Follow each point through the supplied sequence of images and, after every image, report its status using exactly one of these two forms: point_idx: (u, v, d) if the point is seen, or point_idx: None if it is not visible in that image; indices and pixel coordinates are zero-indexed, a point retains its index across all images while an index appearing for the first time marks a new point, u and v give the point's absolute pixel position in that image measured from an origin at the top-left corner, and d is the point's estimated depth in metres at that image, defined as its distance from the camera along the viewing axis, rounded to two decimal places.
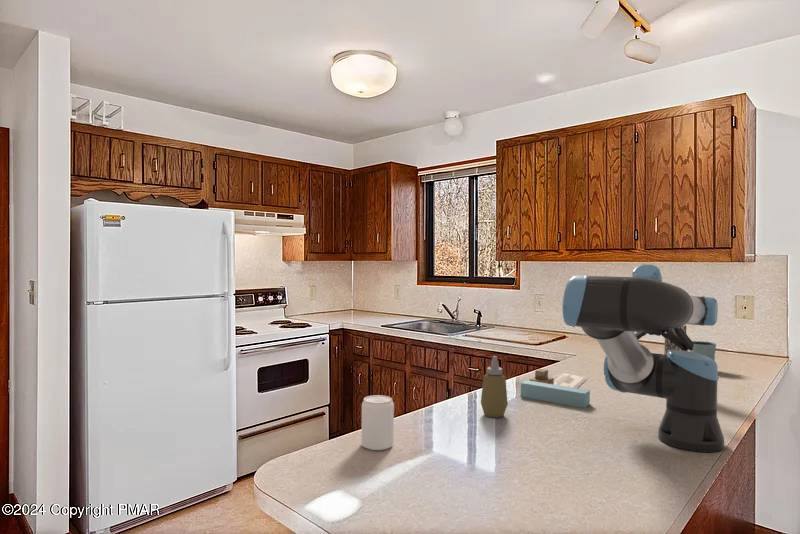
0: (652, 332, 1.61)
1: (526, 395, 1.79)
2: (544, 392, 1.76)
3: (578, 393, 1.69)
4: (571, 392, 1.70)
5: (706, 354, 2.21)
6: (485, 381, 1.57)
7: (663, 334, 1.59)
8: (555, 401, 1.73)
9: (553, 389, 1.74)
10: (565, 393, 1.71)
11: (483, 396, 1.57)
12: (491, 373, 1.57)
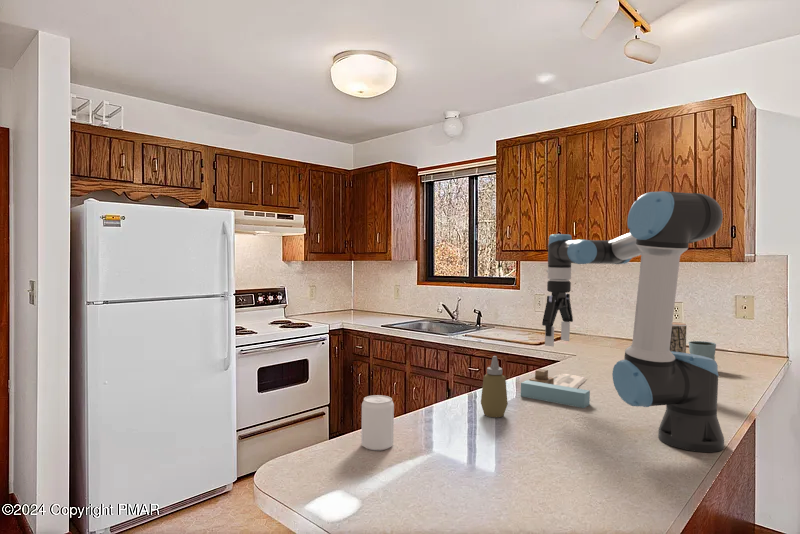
0: (561, 304, 1.74)
1: (526, 395, 1.79)
2: (544, 392, 1.76)
3: (578, 393, 1.69)
4: (571, 392, 1.70)
5: (706, 354, 2.21)
6: (485, 381, 1.57)
7: (566, 303, 1.76)
8: (555, 401, 1.73)
9: (553, 389, 1.74)
10: (565, 393, 1.71)
11: (483, 396, 1.57)
12: (491, 373, 1.57)
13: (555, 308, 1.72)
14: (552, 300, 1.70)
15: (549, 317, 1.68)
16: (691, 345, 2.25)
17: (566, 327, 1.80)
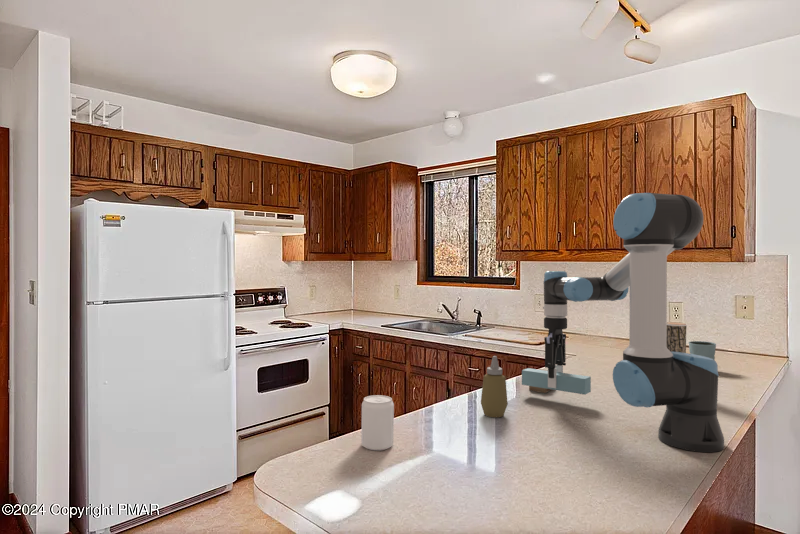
0: None
1: (527, 382, 1.79)
2: (544, 379, 1.75)
3: (578, 379, 1.68)
4: (571, 378, 1.69)
5: (706, 354, 2.21)
6: (485, 381, 1.57)
7: (562, 341, 1.76)
8: None
9: None
10: (566, 379, 1.70)
11: (483, 396, 1.57)
12: (491, 373, 1.57)
13: (554, 348, 1.73)
14: (550, 342, 1.70)
15: (550, 360, 1.70)
16: (691, 345, 2.25)
17: (559, 371, 1.77)
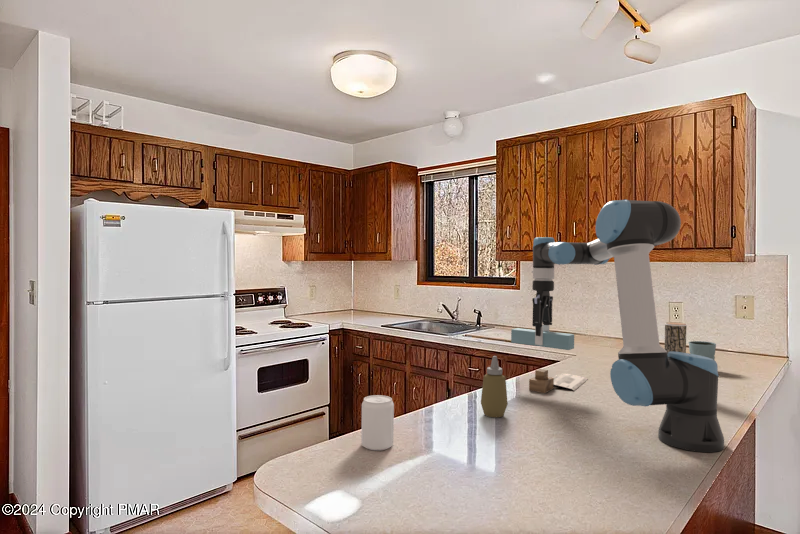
0: None
1: (516, 340, 1.94)
2: (532, 337, 1.90)
3: (563, 336, 1.82)
4: (556, 335, 1.84)
5: (706, 354, 2.21)
6: (485, 381, 1.57)
7: (549, 302, 1.90)
8: None
9: None
10: (551, 337, 1.85)
11: (483, 396, 1.57)
12: (491, 373, 1.57)
13: (541, 308, 1.87)
14: (537, 302, 1.84)
15: (538, 319, 1.84)
16: (691, 345, 2.25)
17: (546, 330, 1.91)
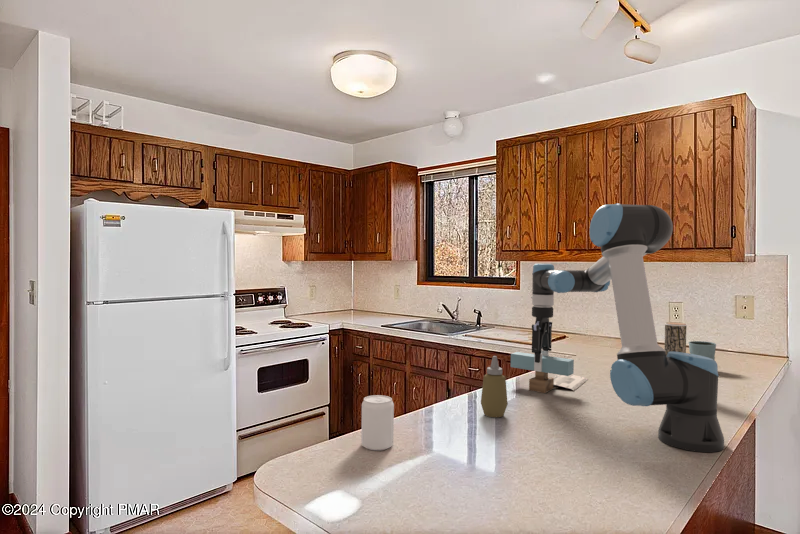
0: (544, 328, 1.89)
1: (516, 365, 1.94)
2: (531, 361, 1.90)
3: (562, 361, 1.83)
4: (556, 361, 1.84)
5: (706, 354, 2.21)
6: (485, 381, 1.57)
7: (548, 329, 1.90)
8: (542, 369, 1.87)
9: None
10: (551, 362, 1.85)
11: (483, 396, 1.57)
12: (491, 373, 1.57)
13: (540, 335, 1.87)
14: (537, 329, 1.84)
15: (537, 346, 1.85)
16: (691, 345, 2.25)
17: None
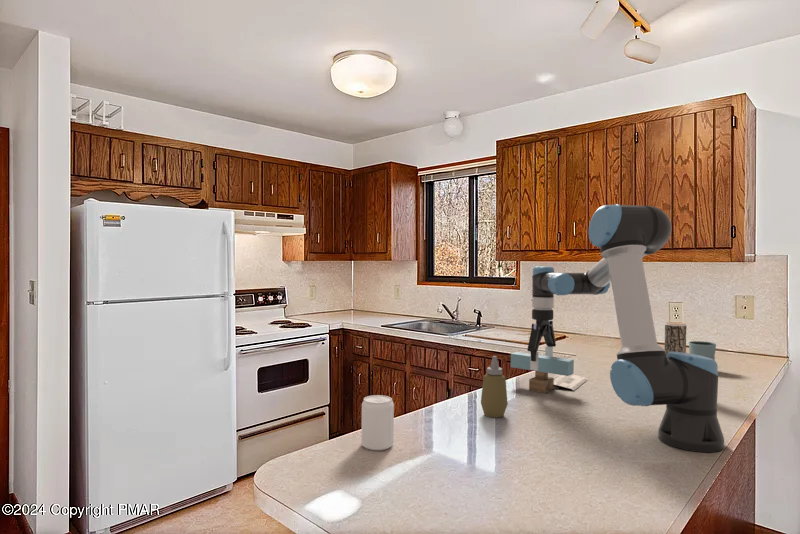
0: (544, 331, 1.89)
1: (516, 365, 1.94)
2: None
3: (562, 361, 1.83)
4: (556, 361, 1.84)
5: (706, 354, 2.21)
6: (485, 381, 1.57)
7: (549, 330, 1.91)
8: (542, 369, 1.87)
9: (540, 358, 1.88)
10: (551, 362, 1.85)
11: (483, 396, 1.57)
12: (491, 373, 1.57)
13: (539, 335, 1.86)
14: (536, 328, 1.84)
15: (534, 344, 1.82)
16: (691, 345, 2.25)
17: (550, 351, 1.95)
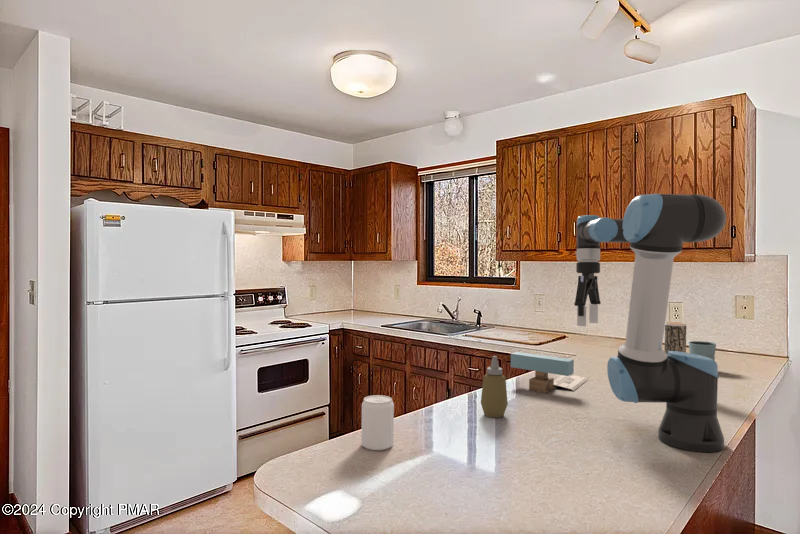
0: (590, 285, 1.75)
1: (516, 365, 1.94)
2: (531, 361, 1.90)
3: (562, 361, 1.83)
4: (556, 361, 1.84)
5: (706, 354, 2.21)
6: (485, 381, 1.57)
7: (595, 285, 1.77)
8: (542, 369, 1.87)
9: (540, 358, 1.88)
10: (551, 362, 1.85)
11: (483, 396, 1.57)
12: (491, 373, 1.57)
13: (586, 288, 1.72)
14: (584, 280, 1.70)
15: (582, 296, 1.68)
16: (691, 345, 2.25)
17: (594, 309, 1.81)
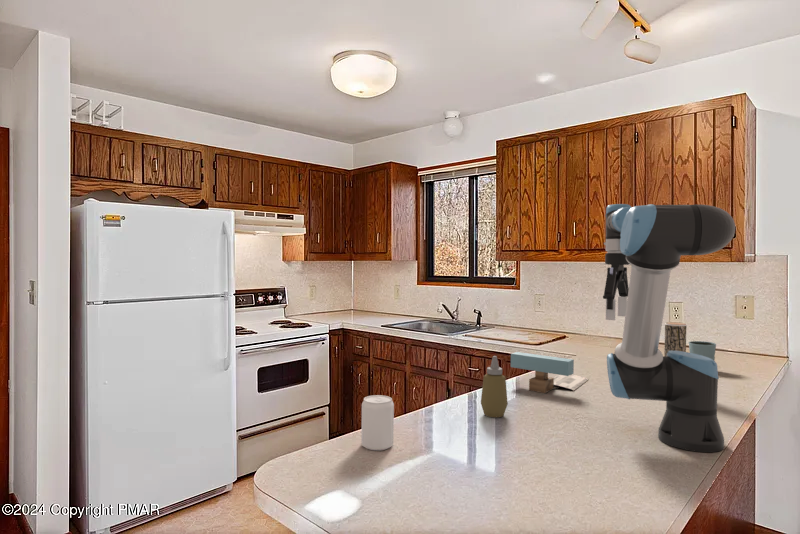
0: None
1: (516, 365, 1.94)
2: (531, 361, 1.90)
3: (562, 361, 1.83)
4: (556, 361, 1.84)
5: (706, 354, 2.21)
6: (485, 381, 1.57)
7: (625, 276, 1.70)
8: (542, 369, 1.87)
9: (540, 358, 1.88)
10: (551, 362, 1.85)
11: (483, 396, 1.57)
12: (491, 373, 1.57)
13: (615, 281, 1.65)
14: (613, 272, 1.63)
15: (611, 289, 1.61)
16: (691, 345, 2.25)
17: (623, 302, 1.74)
